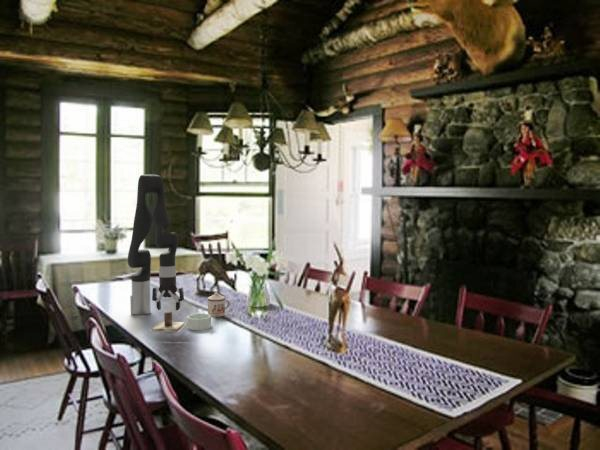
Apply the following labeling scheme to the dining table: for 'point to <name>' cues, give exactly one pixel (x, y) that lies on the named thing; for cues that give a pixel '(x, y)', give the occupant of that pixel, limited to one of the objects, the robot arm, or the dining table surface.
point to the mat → (171, 331)
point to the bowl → (198, 321)
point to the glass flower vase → (265, 295)
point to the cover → (168, 324)
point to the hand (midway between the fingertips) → (168, 309)
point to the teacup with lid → (217, 305)
